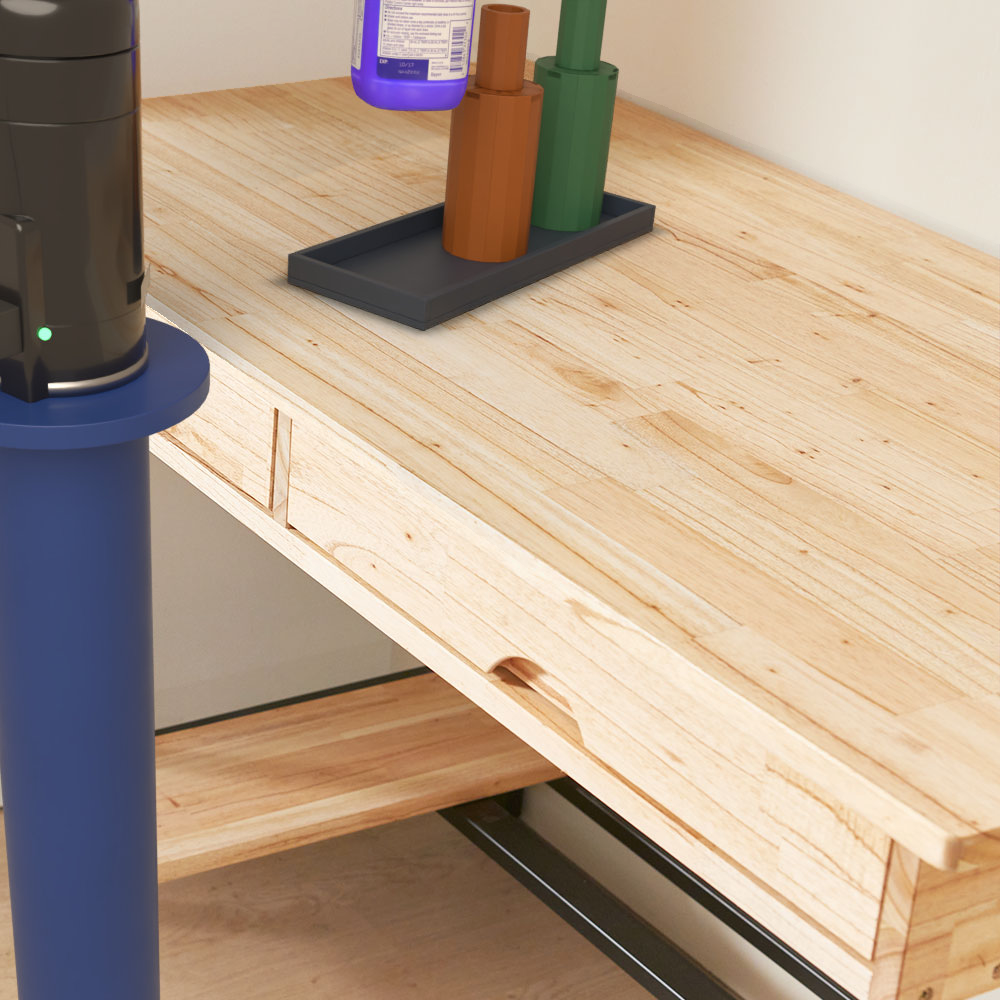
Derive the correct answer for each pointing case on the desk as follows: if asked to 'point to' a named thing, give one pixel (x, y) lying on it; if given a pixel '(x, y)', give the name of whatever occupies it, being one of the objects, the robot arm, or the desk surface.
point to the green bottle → (574, 122)
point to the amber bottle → (494, 145)
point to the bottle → (412, 53)
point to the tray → (448, 263)
